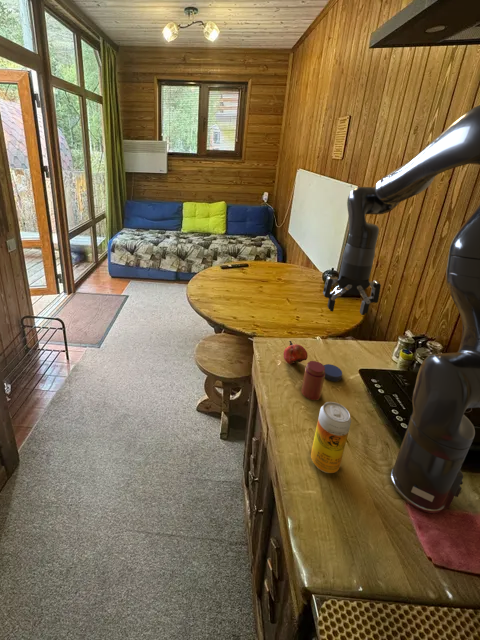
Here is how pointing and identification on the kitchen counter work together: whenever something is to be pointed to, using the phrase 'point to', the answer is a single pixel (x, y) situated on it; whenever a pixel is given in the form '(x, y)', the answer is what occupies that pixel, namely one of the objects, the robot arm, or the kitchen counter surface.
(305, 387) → the jar
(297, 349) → the pomegranate
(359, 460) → the kitchen counter surface
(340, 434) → the beer can
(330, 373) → the lid
